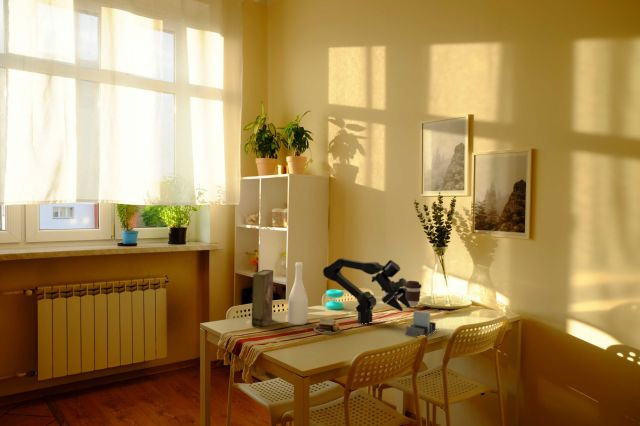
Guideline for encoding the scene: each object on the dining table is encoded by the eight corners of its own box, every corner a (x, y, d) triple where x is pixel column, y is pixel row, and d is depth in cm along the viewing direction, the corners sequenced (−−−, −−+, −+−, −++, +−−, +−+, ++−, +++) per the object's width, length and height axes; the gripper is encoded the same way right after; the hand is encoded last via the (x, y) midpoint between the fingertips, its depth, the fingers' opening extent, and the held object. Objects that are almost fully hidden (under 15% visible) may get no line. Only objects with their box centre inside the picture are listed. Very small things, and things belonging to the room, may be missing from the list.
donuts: (345, 289, 291) (341, 292, 282) (345, 307, 292) (340, 310, 282) (328, 288, 294) (324, 291, 285) (328, 305, 294) (323, 309, 285)
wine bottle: (304, 326, 247) (306, 264, 246) (285, 324, 248) (287, 263, 248) (308, 321, 256) (310, 262, 255) (290, 320, 258) (292, 261, 257)
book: (262, 318, 259) (263, 269, 259) (272, 319, 258) (274, 270, 257) (251, 326, 243) (253, 274, 242) (262, 327, 242) (264, 274, 241)
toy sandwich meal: (310, 333, 234) (310, 323, 234) (318, 326, 247) (318, 317, 247) (336, 336, 231) (336, 326, 231) (343, 329, 244) (343, 319, 243)
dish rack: (405, 335, 236) (405, 326, 236) (418, 327, 249) (418, 319, 249) (423, 338, 231) (424, 329, 231) (436, 331, 245) (436, 322, 245)
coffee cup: (415, 309, 290) (416, 283, 290) (400, 307, 296) (401, 281, 296) (423, 307, 298) (424, 281, 298) (408, 304, 304) (409, 279, 304)
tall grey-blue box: (412, 330, 241) (413, 311, 240) (415, 329, 243) (416, 310, 243) (427, 332, 237) (427, 313, 237) (429, 331, 240) (430, 312, 239)
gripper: (388, 275, 239) (409, 301, 233) (404, 271, 254) (424, 295, 249) (373, 290, 243) (393, 316, 238) (389, 284, 259) (409, 309, 253)
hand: (405, 308), depth 244 cm, fingers open, 9 cm apart
